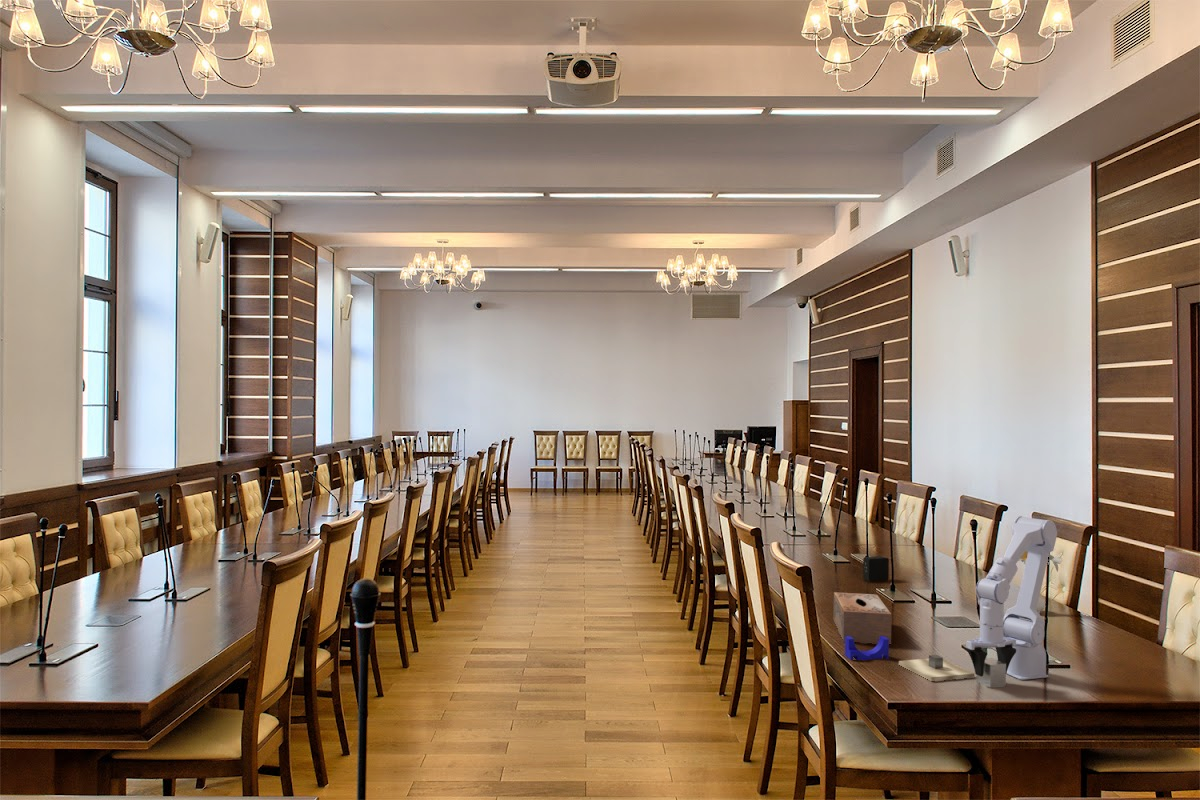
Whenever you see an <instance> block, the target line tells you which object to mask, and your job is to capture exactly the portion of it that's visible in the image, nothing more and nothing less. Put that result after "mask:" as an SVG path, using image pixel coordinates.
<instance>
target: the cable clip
mask: <svg viewBox="0 0 1200 800" xmlns="http://www.w3.org/2000/svg"><path fill="white" fill-rule="evenodd" d="M855 644H856V643H854V639H853V638H852V637H850V636H845V642H844V656H845V657H846V658H847V657H848V658H849V659H850V660H853V657H854V658H855V659H856V660H888V659H889V654H890V653H889V652H890V651H889V648H890V647H889V646H890V645H889V639H888V638H886V637H885V636H880V639H879V642H878V644H875V647H873V648H872V649H870V650H861V649H858V648H857V647H856V645H855ZM882 656H883V658H885V659H883V658H882ZM848 658H847V659H848ZM887 658H888V659H887ZM849 659H848V660H849ZM850 660H849V661H850Z"/></svg>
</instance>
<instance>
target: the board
mask: <svg viewBox="0 0 1200 800" xmlns="http://www.w3.org/2000/svg"><path fill="white" fill-rule="evenodd" d="M899 665H900V666H899ZM898 666H899V667H901V666H902V667H901V668H903V667H904V669H905V668H906V669H905V670H907V669H908V671H909V670H910V672H911V671H912V672H911V673H913V672H914V673H913V674H915V673H916V674H915V675H917V674H918V675H917V676H919V675H920V676H919V677H921V676H922V678H923V677H924V678H923V679H925V678H926V679H925V680H927V679H928V680H927V681H929V680H930V681H929V682H931V681H935V682H945V681H944V680H946V681H953V680H952V679H956V680H963V679H964V678H967V679H974V678H975V672H972V671H970V670H968V669H966V668H963V667H961V666H960V665H957V664H956V663H953V662H951V661H948V660H946V659H944V658H943V668H940V669H934V668H932V667H930V666H929V657H928V658H918V659H908V660H907V659H906V660H905V659H904V660H898ZM964 680H965V679H964Z"/></svg>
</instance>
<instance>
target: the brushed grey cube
mask: <svg viewBox="0 0 1200 800" xmlns="http://www.w3.org/2000/svg"><path fill="white" fill-rule="evenodd" d="M1006 677H1007V674H1006V664H1005V663H1003V662H1000V661H998V659H996V658H994V657H993V658H992V657H989V658H987V657H986V659H985V663H984V674H983V676H979V675H976V682H978V683H979V684H981V685H984V686H985V687H988V688H990V689H991V688H992V689H993V688H1002V687H1006V686H1007V685H1006V683H1007V681H1006V679H1007V678H1006Z"/></svg>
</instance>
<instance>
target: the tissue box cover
mask: <svg viewBox="0 0 1200 800" xmlns="http://www.w3.org/2000/svg"><path fill="white" fill-rule="evenodd" d="M833 622H834V624H836V625H835V627H836V626H837V627H836V629H837V628H838V629H837V630H838V631H837V632H838V634H839V636H840V635H841V636H840V638H841V637H842V638H841V640H842V639H843V640H842V642H843V641H845V636H850V637H852V638H853V639H854V642H860V643H859V644H867V643H872V644H871V645H877V644H878V642H879V639H880V636H885V637H886V638H888V639H889V644H891V645H892V613H891V612H890V610H889V609H888V607H887V606H886V605H885V604H884V602H883V601H882V600H881V598H880V597H879V595H878V594H877V593H876V594H875V593H873V594H872V593H855V592H854V593H851V592H837V591H836V592H835V591H834V592H833Z"/></svg>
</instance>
